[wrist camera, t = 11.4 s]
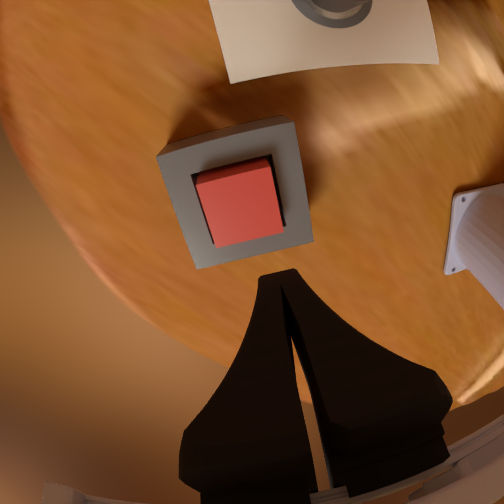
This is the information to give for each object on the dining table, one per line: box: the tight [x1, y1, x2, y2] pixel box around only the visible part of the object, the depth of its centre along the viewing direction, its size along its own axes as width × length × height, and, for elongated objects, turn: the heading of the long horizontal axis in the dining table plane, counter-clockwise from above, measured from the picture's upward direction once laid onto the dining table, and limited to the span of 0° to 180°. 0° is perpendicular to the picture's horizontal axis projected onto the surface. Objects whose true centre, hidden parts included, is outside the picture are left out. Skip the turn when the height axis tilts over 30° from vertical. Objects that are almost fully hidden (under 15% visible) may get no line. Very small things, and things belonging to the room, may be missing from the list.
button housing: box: [156, 115, 314, 269], centre depth 17 cm, size 7×7×3 cm
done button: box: [196, 156, 284, 248], centre depth 16 cm, size 4×4×2 cm
